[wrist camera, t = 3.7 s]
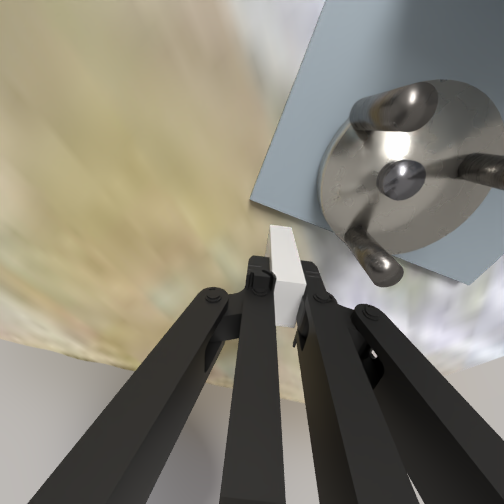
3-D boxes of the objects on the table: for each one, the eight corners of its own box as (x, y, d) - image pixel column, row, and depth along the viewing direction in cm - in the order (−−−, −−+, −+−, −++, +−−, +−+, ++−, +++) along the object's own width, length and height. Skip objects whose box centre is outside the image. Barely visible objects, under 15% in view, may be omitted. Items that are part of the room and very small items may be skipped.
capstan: (289, 216, 20) (302, 260, 13) (372, 49, 14) (463, -16, 8) (405, 261, 22) (466, 320, 15) (519, 128, 16) (697, 129, 9)
